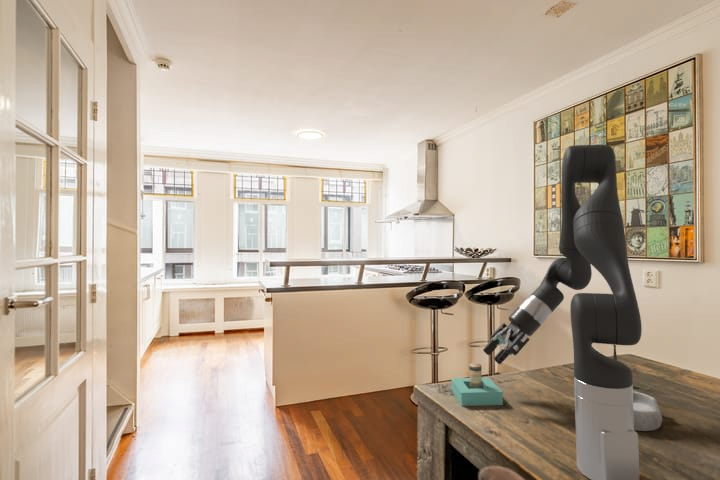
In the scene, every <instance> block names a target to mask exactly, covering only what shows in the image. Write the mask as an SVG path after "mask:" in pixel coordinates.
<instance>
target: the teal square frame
mask: <svg viewBox="0 0 720 480" xmlns="http://www.w3.org/2000/svg"><path fill="white" fill-rule="evenodd" d="M450 381H451V382H450V383H451V384H450V385H451V388H450V389H451V392H452V393H453V395H454V396H455V398H456V400H457V401H458V403H459V404H460V406H461V407H475V406H477V407H478V406H503V405H504V401H503V400H504V399H503V398H504V396H503V391H502V390H501V388H499V387H498V386H497V385H496V384H495V382H494V381H493V380H492V379H490V378H489V376H488V377H482V388H477V389H470V377H457V378H455V377H451V378H450Z"/></svg>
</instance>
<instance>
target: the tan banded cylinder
mask: <svg viewBox="0 0 720 480" xmlns="http://www.w3.org/2000/svg"><path fill="white" fill-rule="evenodd" d="M468 367H469V378H470V389H477V388H482V378H483V377H482V376H483V375H482V364H481V363H476V362H475V363H474V362H472V363H470V364H468Z"/></svg>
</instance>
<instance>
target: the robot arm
mask: <svg viewBox="0 0 720 480" xmlns="http://www.w3.org/2000/svg"><path fill="white" fill-rule="evenodd" d="M616 160H617V159H616V153H615V150H614V148H613V147H612V146H610V145H608V144H584V145H583V144H577V145H570V146H568V147H567V148H566V149H565V150H564V153H563V157H562V164H561V185H560V188H561V195H560V196H561V197H560V198H561V226H560V227H561V228H560V235H559V244H558V250H559V252H560V254H561V255H562V256H564V257H559V258H557V259H555V260H553V261H552V262H551V263H550V265H549V267H548V269H547V271H546V273H545V276H544V277H543V279H542V281H541V283H540V284H539V286H538V287H537V288H536V289H535V290H534V291H532V293H531V294H530V295H529V296H528V297H527V298H525V299H524V300H523V301H522V302H521V303H520V305H519V306H517V308H516V309H515V310H513V312H512V313H511V314H510V315H509V316H508V321H509V322H510V323H509V324H508V325H507V323H505V322H503V323H502V324H501V325H499V327H498V328H496V330H494V332H493V333H492V334H491V335H490V336H489V337H490V341H489V343H488V344H487V345H486V346H485V347H484V348H483V350H482V351H483V352H484V353H485V354H486V355H487V356H490V355H491V354H492V353H493V352H494V351H495V350H496V349H497V348H498V347H499V346H501V345H502V344H503V345H504V346H503V347H502V348H501V349H500V351H498V352H497V354H496V355H495V356H494V357H493V360H494V361H495V362H496V364H498V365H501V364H503V362H504V361H505V360H506V359H507V358H508V357H509V356H512V355H514V356H517V355H518V354H519V353H520V351H521V350H522V349H523V348H524V347H525V346H526V345H527V344H528V342H529V341H530V338H529V337H532V336H533V335H534V334H535V333H536V332H537V330H538V329H539V328H540V327H541V326H542V325H543V324H544V323H545V322H546V321H547V320H548V318H549V317H550V315H551V314H552V313H553V312H554V311H555V310H556V308H558V307H559V306H560V305H561V304H562V302H563V301H564V299H565V296H564V293H563V292H562V291H561V290H560V289H559V288H558V285H559V284H560V283H561V284H563V285H564V286H565V287H568V288H570V289H572V290H575V291H581V290H584V289H585V288H587V287H588V285H589V284H590V282H591V279H592V276H593V275H592V267H593V268H594V269H595V270H596V271H598V273H599V274H600V275H601V276H602V277H603V279H604V280H605V281H606V283H607V285H608V286H609V289H610V291H611V293H597V292H596V293H593V292H590V293H589V292H577V293H576V294H574V295H573V296H572V298H571V300H570V306H569V307H570V311H569V312H570V313H569V314H570V323H571V325H570V326H571V335H572V344H573V379H574V380H573V381H574V384H573V385H574V419H575V420H574V423H575V444H576V447H575V449H576V468H577V470H578V471H579V472H580V473H581V474H582V475H583V476H584V477H586V478H587V479H589V480H640V460H639V433H637V432H638V431H636V430H634V410H633V390H634V385H633V380H634V379H633V378H634V377H633V371H632V369H631V368H630V367H629V366H628V365H627V364H625V363H623V362H621V361H618V359H617V360H614V359H613V358H611V357H609V356H606V355H604V354H603V353H602V352H599V351H598V350H597V349H595V348H594V346H593V345H592V344H600V345H601V344H603V345H612V346H613V345H614V344H615V345H616V346H635V345H637V344H638V343H639V342H640V340H641V336H642V331H643V330H642V329H643V328H642V317H641V312H640V308H639V304H638V298H637V296H636V295H637V294H636V291H635V287H634V283H633V280H632V274H631V271H630V265H629V258H628V257H629V256H628V251H627V242H626V233H625V226H624V219H623V214H622V211H621V206H620V205H621V204H620V199H619V193H618V180H617V161H616ZM581 183H582V184H584V183H585V184H586V183H587V184H598V185H597V187H596V189H595V190H594V192H593V193H592V194H591V195H590V196H589V197H588V198H587V199H586V200H585V201H584V202H583V204H580V202H579V200H578V198H577V194H576V184H581Z"/></svg>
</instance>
